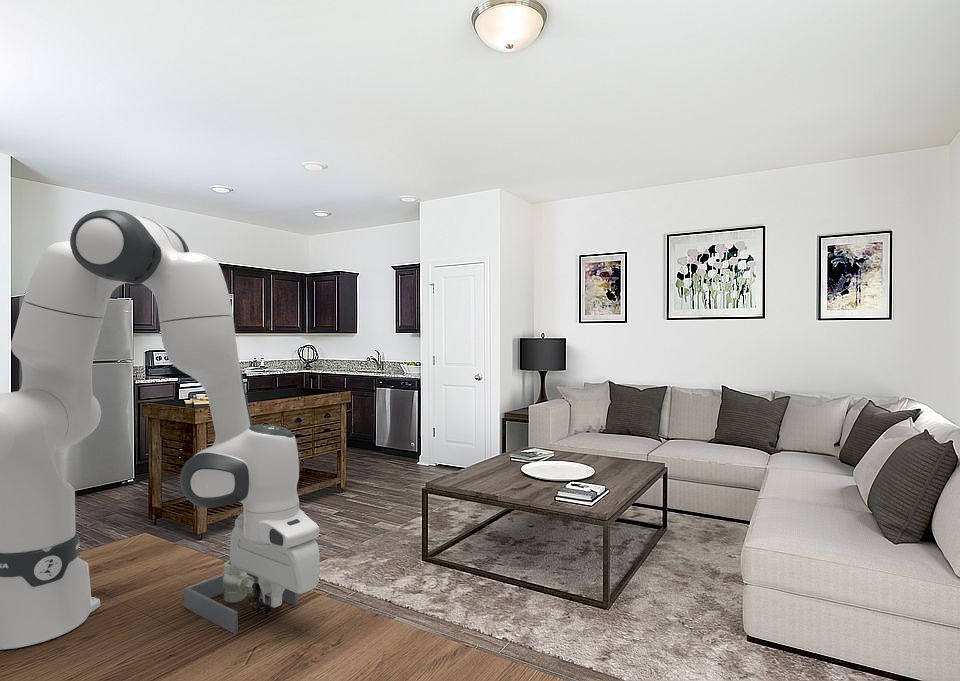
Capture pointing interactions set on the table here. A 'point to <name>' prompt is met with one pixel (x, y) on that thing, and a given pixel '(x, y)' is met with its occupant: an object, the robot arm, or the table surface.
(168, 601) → the table surface
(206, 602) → the valve dock
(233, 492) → the robot arm
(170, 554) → the table surface
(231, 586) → the valve
